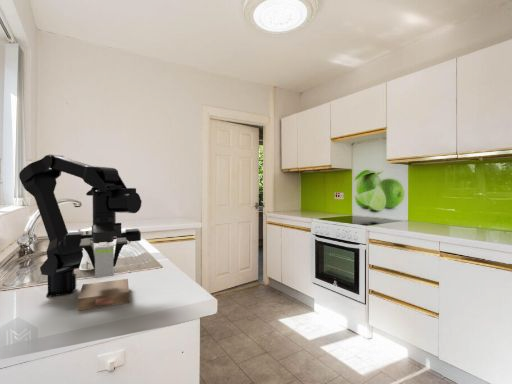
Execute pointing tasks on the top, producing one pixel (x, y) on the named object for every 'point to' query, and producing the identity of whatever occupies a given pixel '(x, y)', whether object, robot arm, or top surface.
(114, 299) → the walnut riser
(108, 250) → the metal column
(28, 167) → the robot arm
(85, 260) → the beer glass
